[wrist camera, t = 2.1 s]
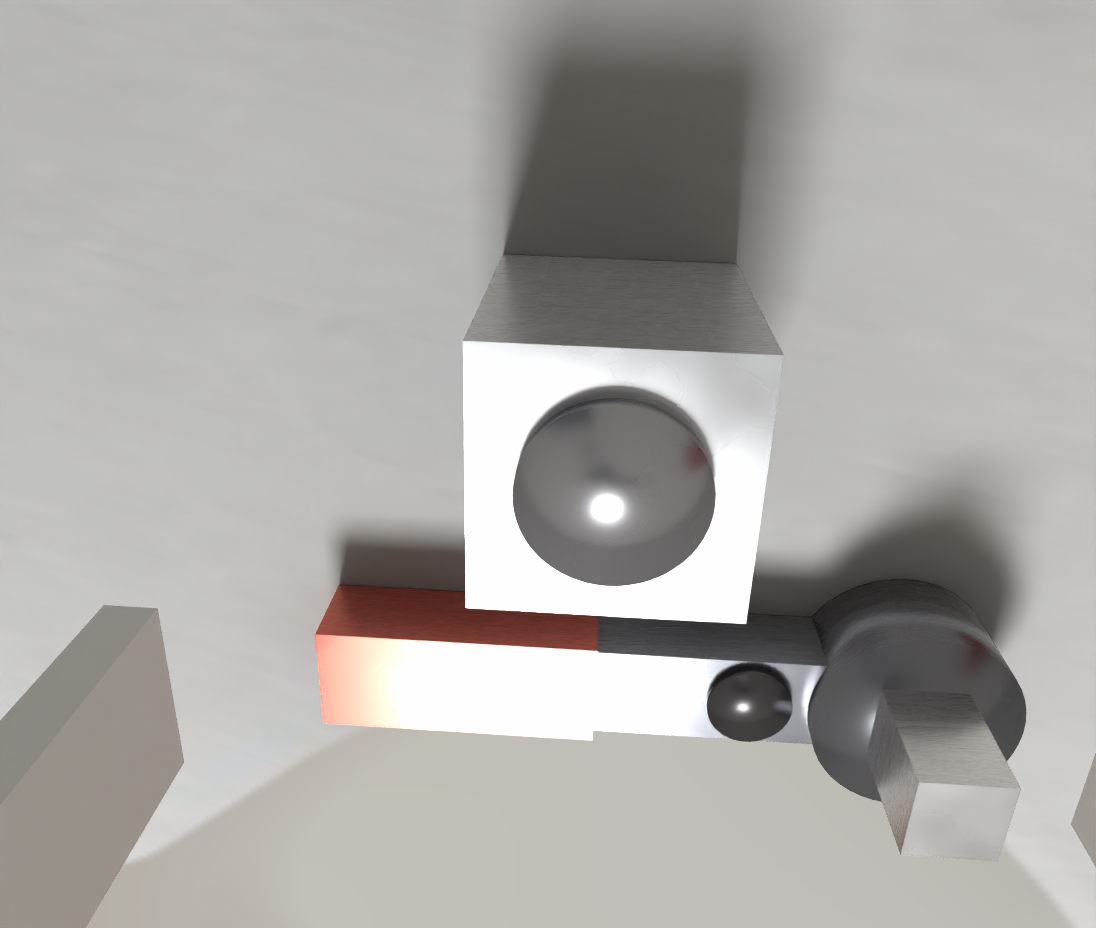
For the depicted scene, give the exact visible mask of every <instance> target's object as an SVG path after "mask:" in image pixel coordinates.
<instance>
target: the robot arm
mask: <svg viewBox="0 0 1096 928" xmlns="http://www.w3.org/2000/svg"><path fill="white" fill-rule="evenodd" d="M183 763H184V759H183V753H182V747H181V741H180V735H179V730H178V724H177V718H176V712H175V707H174V701H173V695H172V689H171V683H170V678H169V672H168V666H167V660H166V654H165V649H164V643H163V637H162V631H161V626H160V620H159V614H158V609H157V608H141V607H125V606H109V605H104V606H103V607H102V608H101V609H100V610H99V611H98V612H97V614H96V615H95V616H94V617H93V618H92V619H91V620H90V621H89V622H88V624H87V625H86V626H85V627H84V628H83V629H82V630H81V631H80V633H79V634H78V635H77V636H76V637H75V638H74V639H73V640H72V641H71V643H70V644H69V645H68V646H67V647H66V648H65V649H64V650H63V651H62V653H61V654H60V655H59V656H58V657H57V658H56V659H55V660H54V661H53V663H52V664H51V665H50V666H49V667H48V668H47V669H46V670H45V671H44V673H43V674H42V675H41V676H40V677H39V678H38V679H37V680H36V682H35V683H34V684H33V685H32V686H31V687H30V688H29V689H28V690H27V692H26V693H25V694H24V695H23V696H22V697H21V698H20V699H19V700H18V702H17V703H16V704H15V705H14V706H13V707H12V708H11V709H10V710H9V712H8V713H7V714H6V715H5V716H4V717H3V718H2V719H1V721H0V928H86V926H87V925H88V923H89V921H90V919H91V918H92V916H93V914H94V913H95V911H96V909H97V908H98V906H99V904H100V903H101V901H102V899H103V898H104V895H105V894H106V893H107V891H108V889H109V887H110V886H111V884H112V882H113V881H114V879H115V877H116V876H117V874H118V872H119V871H120V869H121V867H122V866H123V864H124V862H125V861H126V859H127V857H128V856H129V854H130V852H131V850H132V849H133V847H134V845H135V844H136V842H137V840H138V839H139V837H140V835H141V834H142V832H143V830H144V829H145V827H146V825H147V824H148V822H149V820H150V818H151V817H152V815H153V813H154V812H155V810H156V808H157V807H158V805H159V803H160V802H161V800H162V798H163V797H164V795H165V793H166V792H167V790H168V788H169V787H170V785H171V783H172V781H173V780H174V778H175V776H176V775H177V773H178V771H179V770H180V768H181V766H182V765H183ZM1071 825H1072V827H1073V829H1074V830H1075V832H1076V834H1077V835H1078V837H1079V839H1080V841H1081V842H1082V844H1083V846H1084V848H1085V849H1086V851H1087V853H1088V855H1089V856H1090V858H1091V860H1092V862H1093V863H1094V865H1095V867H1096V754H1095V757H1094V760H1093V763H1092V765H1091V768H1090V771H1089V774H1088V777H1087V780H1086V783H1085V786H1084V788H1083V791H1082V794H1081V797H1080V800H1079V803H1078V806H1077V808H1076V811H1075V814H1074V817H1073V820H1072V823H1071Z"/></svg>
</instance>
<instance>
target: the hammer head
mask: <svg viewBox="0 0 1096 928" xmlns="http://www.w3.org/2000/svg"><path fill="white" fill-rule="evenodd" d="M783 360H784V354H783V352H782V350H781V349H780V347H779V345H778V343H777V341H776V339H775V337H774V335H773V333H772V331H771V329H770V327H769V326H768V324H767V322H766V320H765V318H764V316H763V314H762V312H761V310H760V308H759V306H758V304H757V302H756V301H755V299H754V297H753V295H752V293H751V291H750V289H749V287H748V285H747V283H746V281H745V279H744V277H743V276H742V274H741V272H740V270H739V268H738V266H737V264H724V263H700V262H676V261H652V260H627V259H603V258H579V257H555V256H530V255H506V254H503V256H502V258H501V260H500V262H499V264H498V266H497V269H496V271H495V273H494V275H493V277H492V279H491V281H490V284H489V286H488V288H487V290H486V292H485V294H484V297H483V299H482V301H481V303H480V305H479V307H478V309H477V312H476V314H475V316H474V318H473V320H472V322H471V325H470V327H469V329H468V331H467V333H466V335H465V337H464V340H463V392H464V477H465V562H466V608H477V609H495V610H512V611H530V612H547V613H564V614H582V615H599V616H616V617H634V618H651V619H669V620H686V621H703V622H721V623H738V624H746V621H747V614H748V607H749V600H750V593H751V586H752V578H753V571H754V564H755V557H756V550H757V543H758V536H759V529H760V522H761V515H762V508H763V501H764V494H765V487H766V480H767V473H768V466H769V458H770V451H771V444H772V437H773V430H774V423H775V416H776V409H777V402H778V395H779V388H780V381H781V374H782V367H783Z"/></svg>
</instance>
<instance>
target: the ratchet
mask: <svg viewBox="0 0 1096 928" xmlns="http://www.w3.org/2000/svg"><path fill="white" fill-rule="evenodd" d="M315 638H316V648H317V659H318V669H319V680H320V690H321V701H322V711H323V722H324V723H328V724H344V725H359V726H375V727H392V728H407V729H423V730H438V731H455V732H471V733H486V734H502V735H517V736H533V737H549V738H550V737H551V738H565V739H580V740H592V735H593V730H596V731H597V730H598V731H612V732H628V733H644V734H660V735H676V736H691V737H707V738H724V739H733V740H738V741H748V742H750V741H772V742H788V743H803V744H813V748H814V751H815V753H816V755H817V758H818V760H819V762H820V763H821V765H822V766H823V768H824V769H825V770H826V772H827V773H828V774H829V775H830V776H831V777H832V778H833V779H834V780H836V781H837V782H838V783H839V784H840V785H842V786H844V787H845V788H847V789H848V790H850V791H852V792H854V793H856V794H858V795H861V796H863V797H867V798H869V799H872V800H877V801H881V802H882V803H883V806H884V809H885V812H886V814H887V817H888V820H889V823H890V826H891V829H892V832H893V835H894V837H895V840H896V843H897V846H898V849H899V852H900V855H911V856H927V857H940V858H955V859H971V860H985V861H998V859H999V856H1000V853H1001V850H1002V847H1003V844H1004V841H1005V838H1006V834H1007V831H1008V828H1009V825H1010V822H1011V819H1012V816H1013V813H1014V810H1015V806H1016V803H1017V800H1018V797H1019V794H1020V791H1021V788H1020V786H1019V784H1018V782H1017V780H1016V778H1015V776H1014V775H1013V773H1012V771H1011V769H1010V767H1009V765H1008V763H1007V760H1008V759H1009V758H1010V757H1011V755H1012V754H1013V753H1014V751H1015V749H1016V747H1017V746H1018V744H1019V742H1020V739H1021V737H1022V734H1023V731H1024V727H1025V723H1026V705H1025V699H1024V696H1023V692H1022V689H1021V688H1020V686H1019V684H1018V682H1017V680H1016V678H1015V677H1014V675H1013V673H1012V672H1011V670H1010V669H1009V667H1008V665H1007V664H1006V662H1005V660H1004V659H1003V657H1002V656H1001V654H1000V652H999V651H998V649H997V647H996V646H995V644H994V643H993V641H992V639H991V638H990V636H989V634H988V633H987V631H986V630H985V628H984V626H983V625H982V623H981V622H980V620H979V618H978V617H977V615H976V614H975V613H974V611H973V610H972V609H971V608H970V607H969V606H968V605H967V604H966V603H965V602H964V601H963V600H962V599H960V598H959V597H958V596H956V595H955V594H953V593H951V592H949V591H948V590H946V589H944V588H941V587H938V586H936V585H933V584H929V583H925V582H921V581H913V580H887V581H879V582H874V583H869V584H866V585H863V586H860V587H857V588H854V589H852V590H849V591H847V592H845V593H843V594H841V595H839V596H838V597H836V598H834V599H833V600H831V601H830V602H828V603H827V604H826V605H824V606H823V607H822V608H821V609H820V610H819V611H818V612H817V613H816V614H815V615H814V616H813V617H799V616H781V615H764V614H747V621H746V624H738V623H721V622H703V621H686V620H669V619H651V618H634V617H616V616H599V615H582V614H564V613H547V612H530V611H512V610H495V609H477V608H466V592H457V591H439V590H422V589H404V588H387V587H369V586H352V585H339V586H338V588H337V590H336V592H335V595H334V597H333V599H332V601H331V603H330V605H329V607H328V609H327V611H326V613H325V615H324V617H323V619H322V621H321V624H320V626H319V628H318V630H317V632H316V634H315Z"/></svg>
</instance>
